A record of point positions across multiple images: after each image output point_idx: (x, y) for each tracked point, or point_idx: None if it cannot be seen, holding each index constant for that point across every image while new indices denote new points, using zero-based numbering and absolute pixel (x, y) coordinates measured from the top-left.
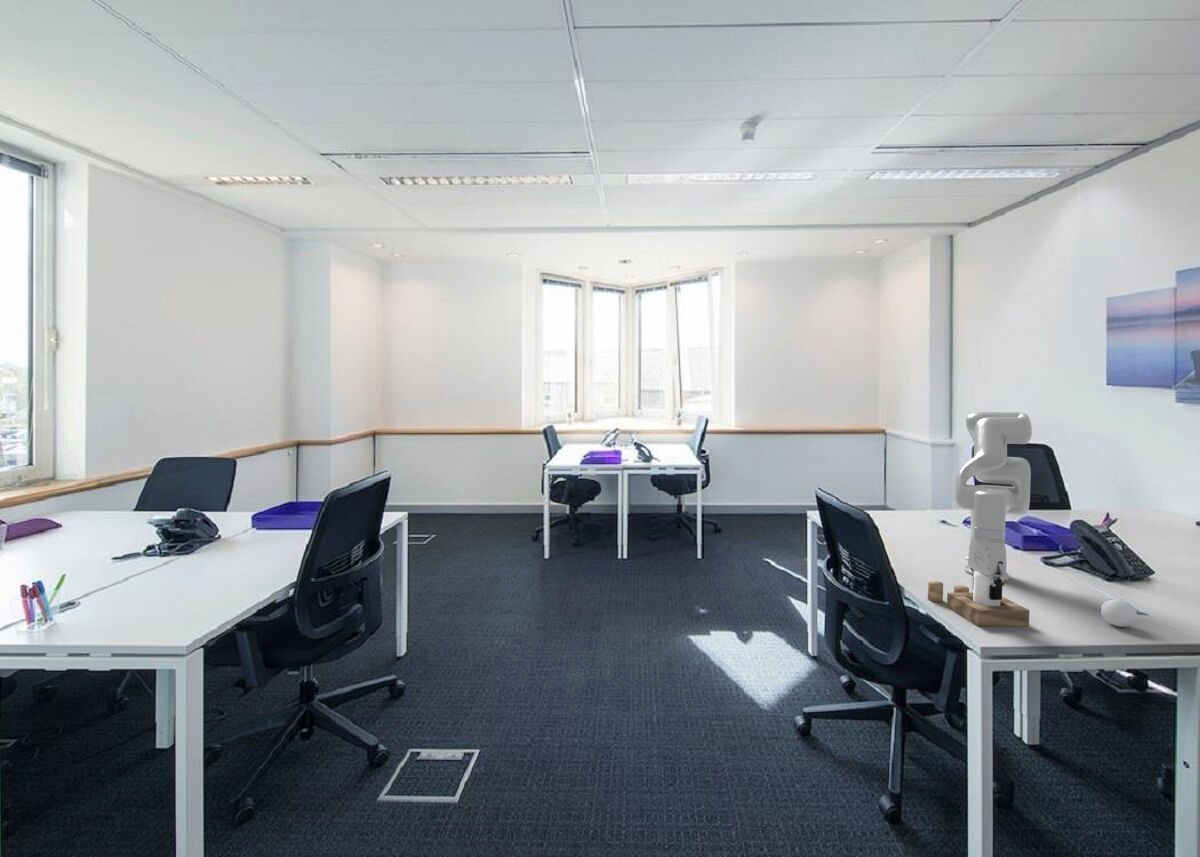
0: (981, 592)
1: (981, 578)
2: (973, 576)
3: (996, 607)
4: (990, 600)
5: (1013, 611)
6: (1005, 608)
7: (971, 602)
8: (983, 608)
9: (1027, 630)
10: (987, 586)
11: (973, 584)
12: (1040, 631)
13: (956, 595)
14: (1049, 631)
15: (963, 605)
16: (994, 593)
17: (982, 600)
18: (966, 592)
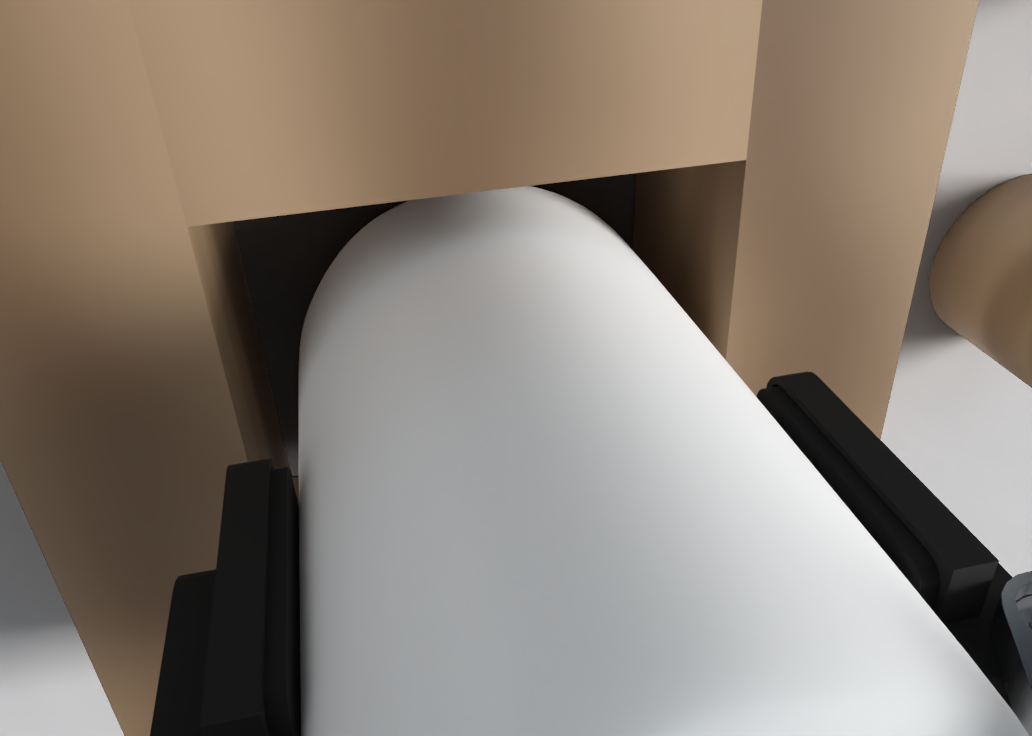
0: (402, 410)
1: (471, 723)
2: (1009, 583)
3: (161, 445)
4: (305, 455)
5: (81, 612)
6: (141, 554)
7: (392, 106)
8: (14, 179)
9: (13, 553)
10: (334, 638)
11: (847, 441)
12: (27, 655)
13: (815, 2)
14: (59, 722)
15: None
16: (195, 622)
17: (367, 331)
18: (1025, 347)
